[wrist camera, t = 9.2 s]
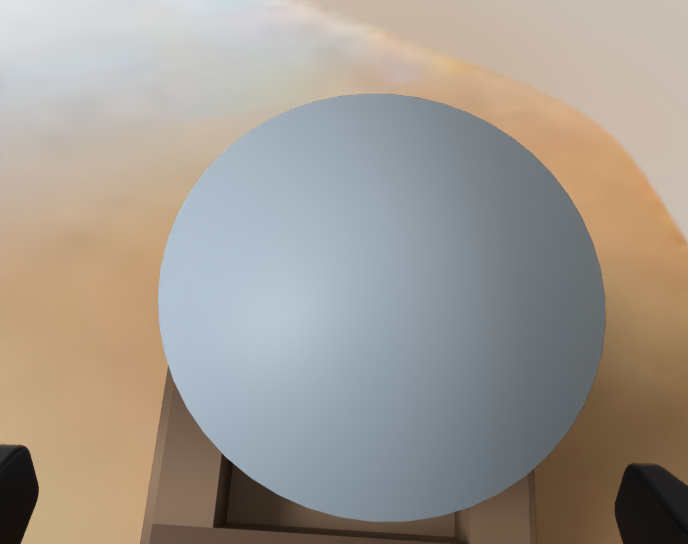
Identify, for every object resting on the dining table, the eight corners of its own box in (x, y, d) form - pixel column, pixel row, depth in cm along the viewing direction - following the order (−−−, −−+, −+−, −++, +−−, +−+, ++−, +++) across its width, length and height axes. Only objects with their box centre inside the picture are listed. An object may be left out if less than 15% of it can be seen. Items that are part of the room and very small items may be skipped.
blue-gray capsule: (418, 499, 17) (626, 538, 5) (264, 488, 17) (119, 504, 5) (421, 346, 18) (587, 107, 7) (279, 337, 18) (193, 81, 7)
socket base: (523, 623, 17) (568, 658, 14) (146, 598, 17) (102, 627, 14) (512, 267, 21) (545, 227, 18) (199, 247, 21) (174, 204, 18)
